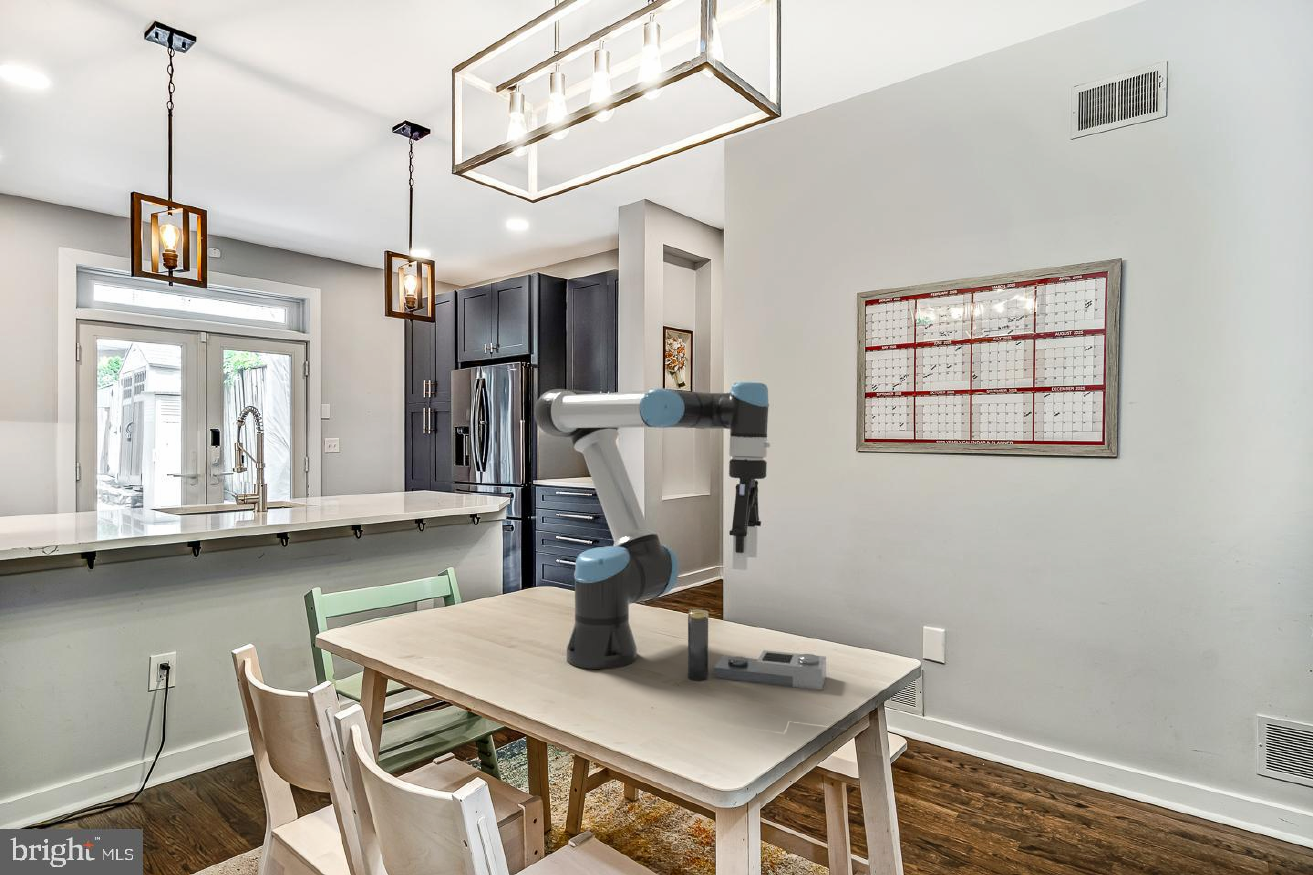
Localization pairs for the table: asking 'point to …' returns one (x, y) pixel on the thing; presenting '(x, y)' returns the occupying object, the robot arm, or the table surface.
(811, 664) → the metal block with stud
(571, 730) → the table surface
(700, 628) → the pin
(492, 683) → the table surface
